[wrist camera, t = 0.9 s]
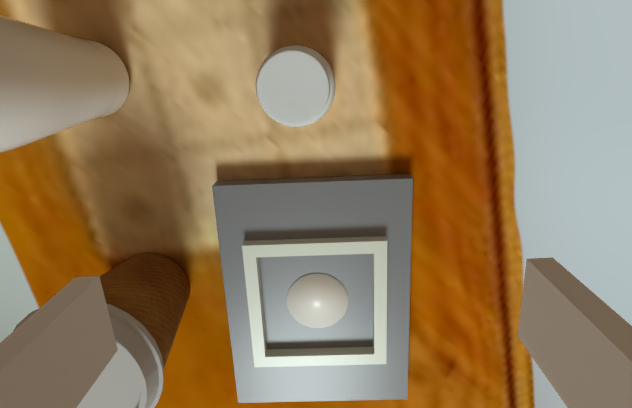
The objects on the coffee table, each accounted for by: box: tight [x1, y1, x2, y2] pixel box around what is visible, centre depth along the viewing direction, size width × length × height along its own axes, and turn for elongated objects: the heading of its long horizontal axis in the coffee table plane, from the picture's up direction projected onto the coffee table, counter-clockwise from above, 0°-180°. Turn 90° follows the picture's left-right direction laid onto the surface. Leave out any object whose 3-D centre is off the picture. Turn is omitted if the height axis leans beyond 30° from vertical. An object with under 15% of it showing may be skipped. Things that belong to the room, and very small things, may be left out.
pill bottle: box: [256, 45, 335, 127], centre depth 27 cm, size 5×5×8 cm
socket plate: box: [212, 174, 413, 403], centre depth 35 cm, size 20×15×2 cm
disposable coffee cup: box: [14, 253, 190, 408], centre depth 30 cm, size 10×10×12 cm
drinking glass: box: [0, 15, 130, 153], centre depth 24 cm, size 7×7×15 cm
